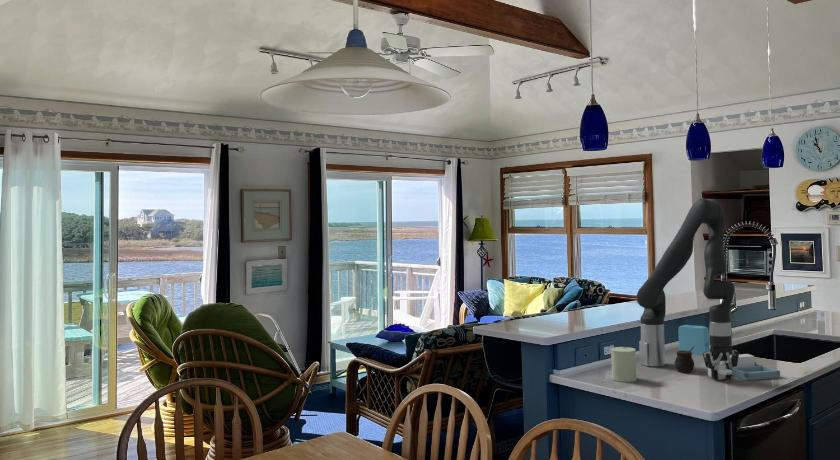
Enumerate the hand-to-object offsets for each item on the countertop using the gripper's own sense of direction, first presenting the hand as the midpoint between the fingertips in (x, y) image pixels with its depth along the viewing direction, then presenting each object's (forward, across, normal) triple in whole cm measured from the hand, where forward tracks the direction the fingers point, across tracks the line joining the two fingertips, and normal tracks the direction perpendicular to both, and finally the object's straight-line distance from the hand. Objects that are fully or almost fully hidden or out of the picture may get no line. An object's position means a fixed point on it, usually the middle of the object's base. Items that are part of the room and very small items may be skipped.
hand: (721, 378), depth 237 cm
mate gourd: (+1, +5, -16) cm, 17 cm away
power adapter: (+1, 0, 0) cm, 1 cm away
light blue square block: (+1, -19, -47) cm, 51 cm away
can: (+1, +33, -12) cm, 35 cm away
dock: (0, -15, -6) cm, 16 cm away
